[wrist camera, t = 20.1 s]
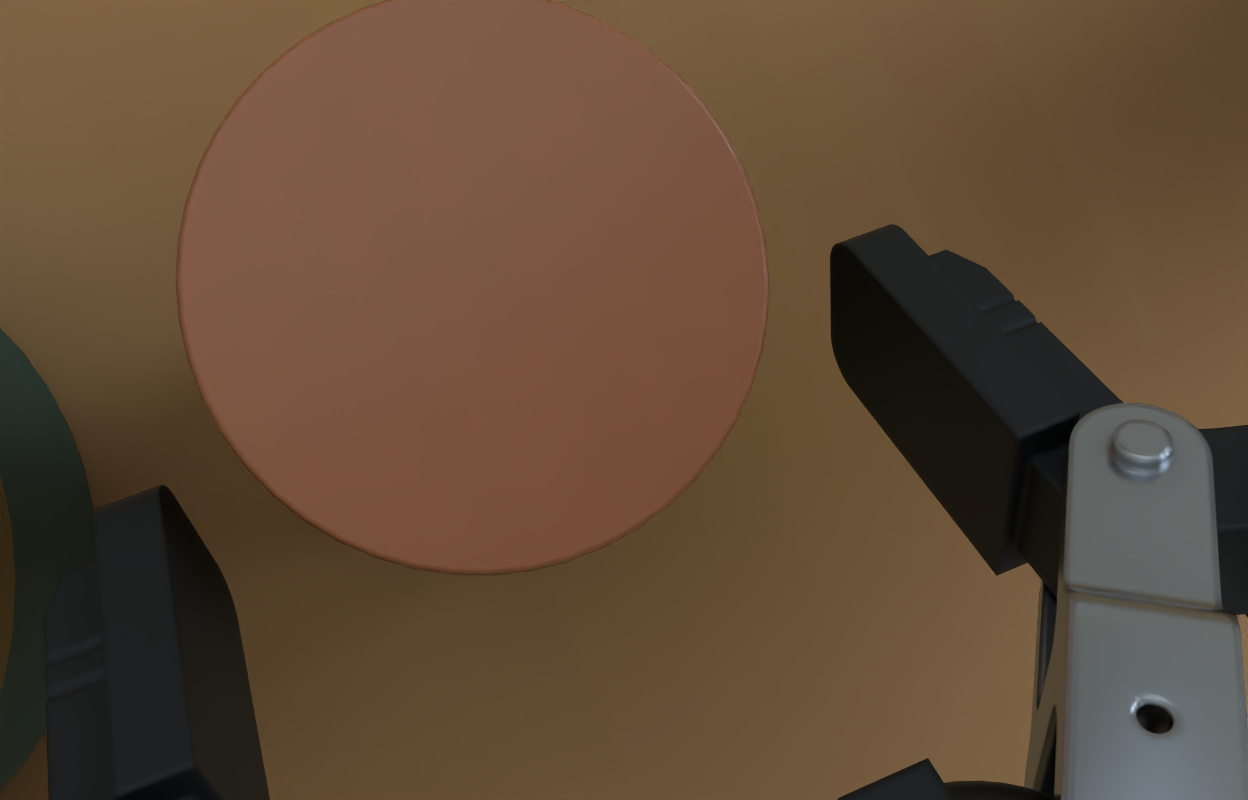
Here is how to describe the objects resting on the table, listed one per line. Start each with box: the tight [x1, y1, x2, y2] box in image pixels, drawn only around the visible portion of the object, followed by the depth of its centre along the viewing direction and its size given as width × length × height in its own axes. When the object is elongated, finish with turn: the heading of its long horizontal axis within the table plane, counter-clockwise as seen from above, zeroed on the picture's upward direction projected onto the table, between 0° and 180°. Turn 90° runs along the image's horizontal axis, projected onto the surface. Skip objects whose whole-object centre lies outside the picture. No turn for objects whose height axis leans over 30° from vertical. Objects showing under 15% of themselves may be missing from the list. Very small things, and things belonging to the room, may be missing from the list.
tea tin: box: [176, 0, 769, 575], centre depth 17 cm, size 6×6×11 cm
